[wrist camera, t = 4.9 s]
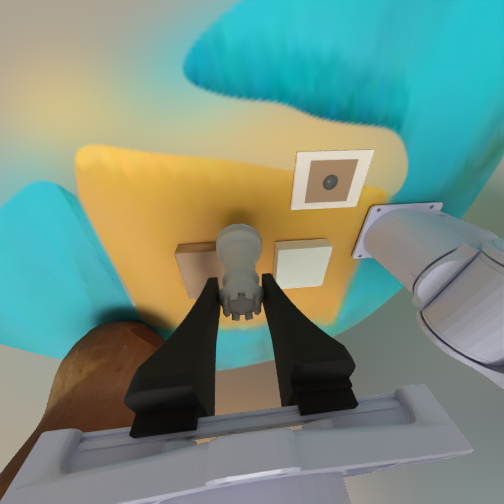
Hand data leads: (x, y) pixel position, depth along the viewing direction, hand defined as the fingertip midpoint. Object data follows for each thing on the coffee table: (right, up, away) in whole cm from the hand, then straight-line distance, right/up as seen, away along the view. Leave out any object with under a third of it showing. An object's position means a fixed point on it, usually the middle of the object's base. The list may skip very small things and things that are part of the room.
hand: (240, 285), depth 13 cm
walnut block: (-4, 0, +12) cm, 13 cm away
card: (+9, +10, +7) cm, 15 cm away
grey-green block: (+7, +1, +13) cm, 15 cm away
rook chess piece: (-1, +4, +5) cm, 6 cm away
